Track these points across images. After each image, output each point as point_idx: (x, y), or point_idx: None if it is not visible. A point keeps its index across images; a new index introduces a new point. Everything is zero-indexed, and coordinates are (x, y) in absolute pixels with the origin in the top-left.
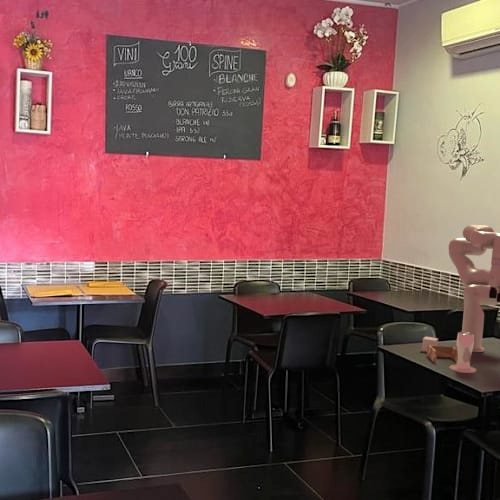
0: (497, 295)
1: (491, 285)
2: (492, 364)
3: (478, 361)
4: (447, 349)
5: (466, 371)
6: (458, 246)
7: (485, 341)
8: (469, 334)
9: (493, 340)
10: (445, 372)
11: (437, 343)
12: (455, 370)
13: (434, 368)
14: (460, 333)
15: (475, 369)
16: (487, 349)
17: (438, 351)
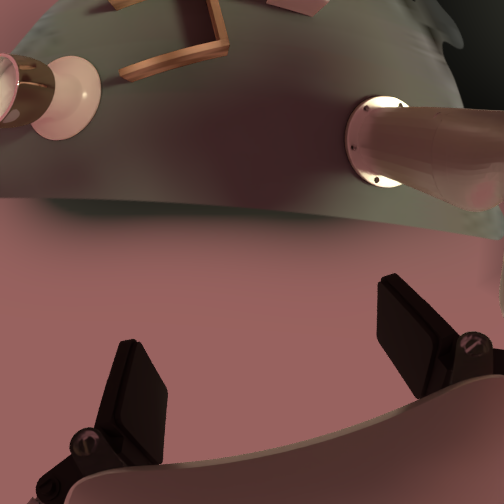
0: (104, 395)
1: (302, 457)
2: (185, 193)
3: (207, 145)
4: (215, 27)
5: None
6: None
7: None
8: (16, 101)
9: (489, 233)
10: None
11: (315, 6)
12: None
13: (45, 24)
14: (16, 60)
15: (62, 136)
16: (403, 200)
17: (208, 2)
